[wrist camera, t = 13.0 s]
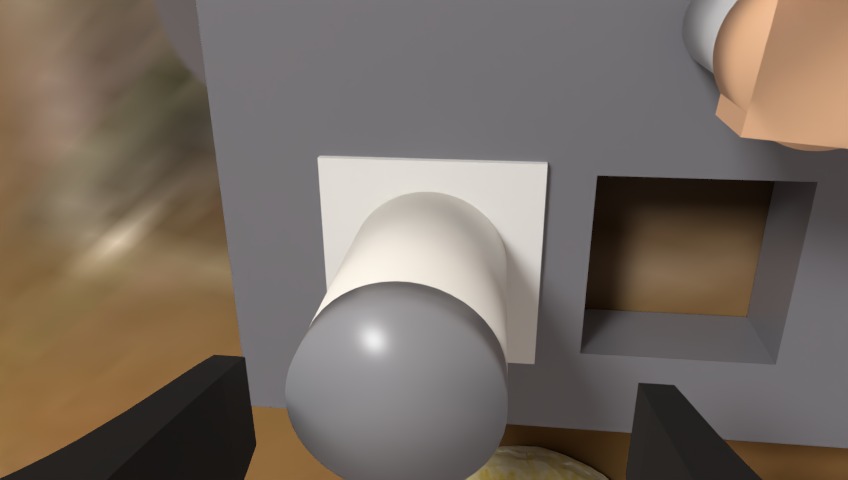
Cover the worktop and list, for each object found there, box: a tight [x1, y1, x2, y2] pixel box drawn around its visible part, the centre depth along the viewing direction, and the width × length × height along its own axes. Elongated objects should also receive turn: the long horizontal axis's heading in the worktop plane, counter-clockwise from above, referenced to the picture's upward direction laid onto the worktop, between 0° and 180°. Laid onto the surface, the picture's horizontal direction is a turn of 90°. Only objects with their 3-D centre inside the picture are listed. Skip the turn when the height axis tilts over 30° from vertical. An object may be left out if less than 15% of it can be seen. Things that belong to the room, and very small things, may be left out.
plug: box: [285, 191, 508, 480], centre depth 15 cm, size 4×4×6 cm
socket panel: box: [196, 0, 848, 448], centre depth 17 cm, size 20×13×6 cm, turn 90°
